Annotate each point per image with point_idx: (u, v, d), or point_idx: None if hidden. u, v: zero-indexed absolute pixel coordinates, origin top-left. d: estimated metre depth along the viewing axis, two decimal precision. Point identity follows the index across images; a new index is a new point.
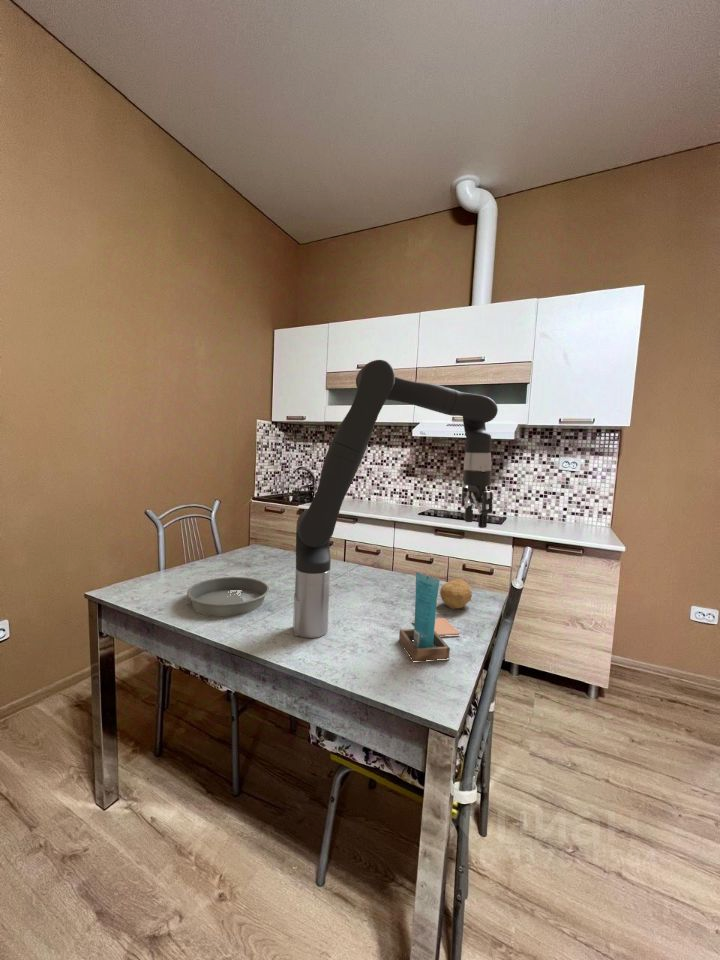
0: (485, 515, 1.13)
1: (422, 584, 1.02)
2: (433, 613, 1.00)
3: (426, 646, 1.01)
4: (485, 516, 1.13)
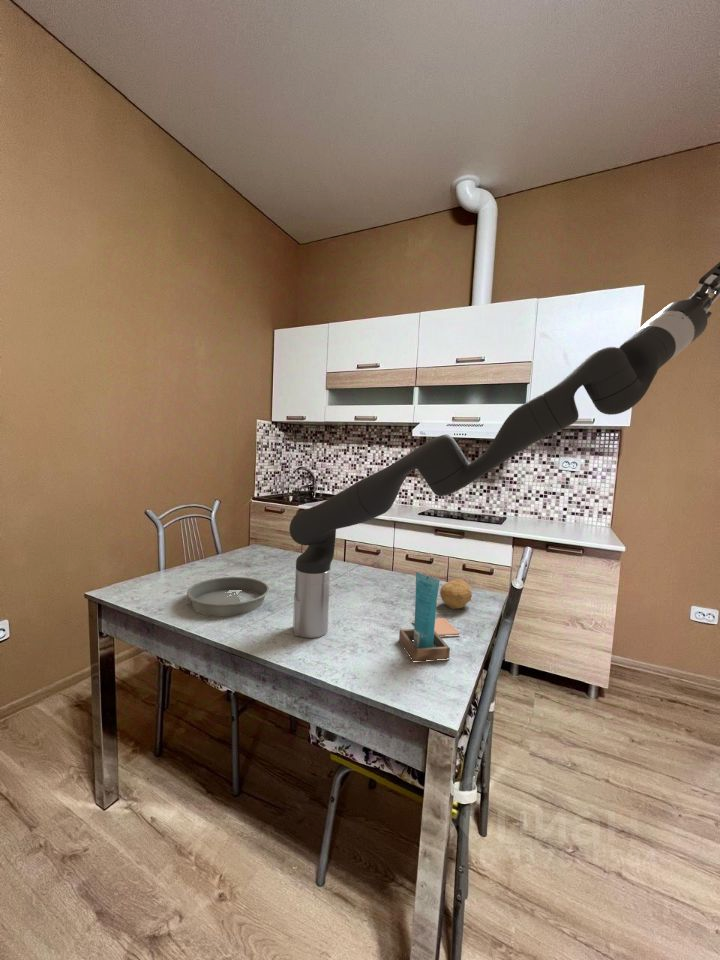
0: None
1: (422, 584, 1.02)
2: (433, 613, 1.00)
3: (426, 646, 1.01)
4: None
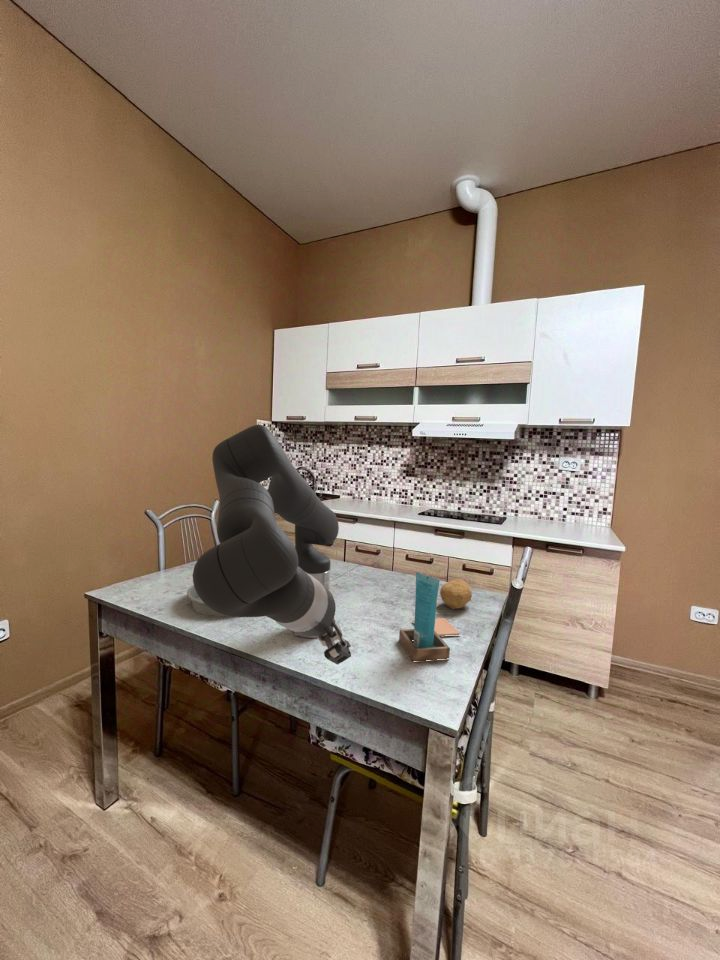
0: None
1: (422, 584, 1.02)
2: (433, 613, 1.00)
3: (426, 646, 1.01)
4: None
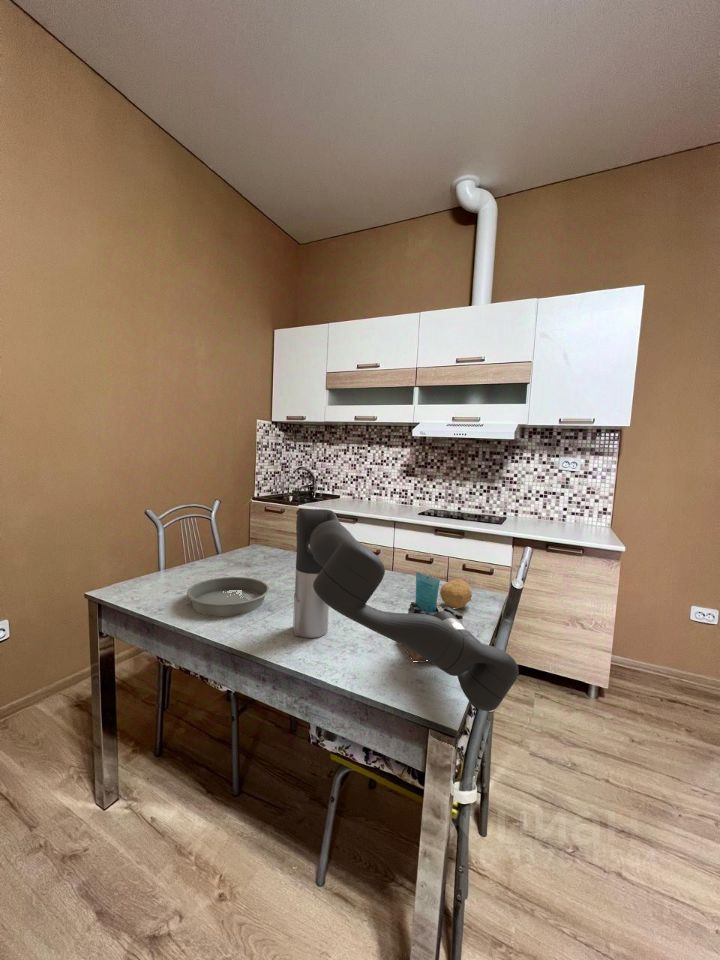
0: None
1: (422, 584, 1.02)
2: None
3: None
4: None
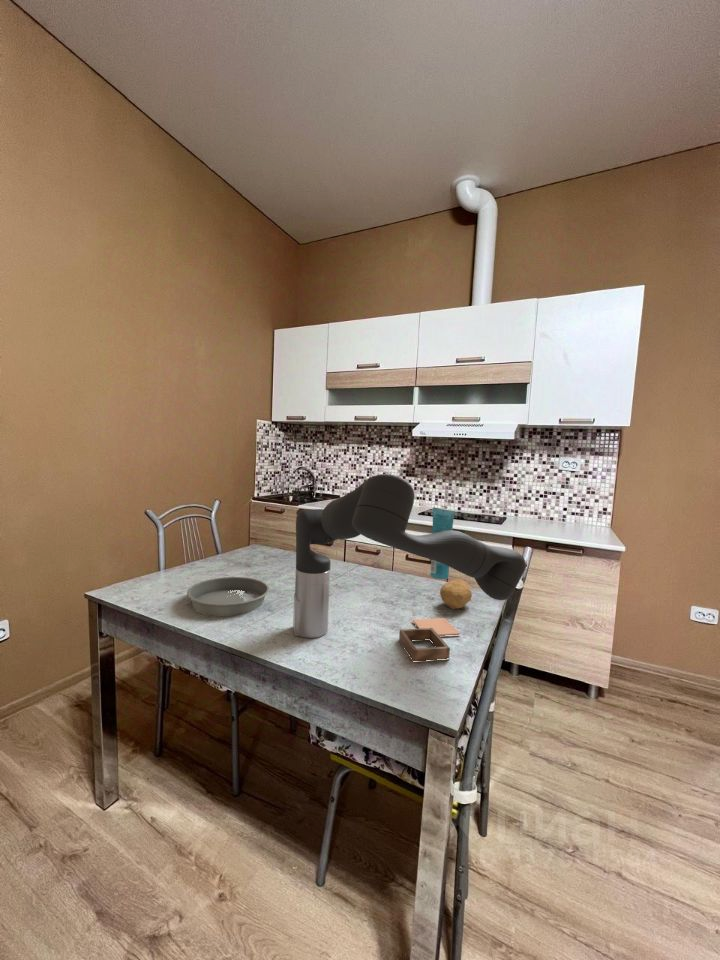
0: None
1: (439, 516, 1.13)
2: None
3: (442, 572, 1.11)
4: None
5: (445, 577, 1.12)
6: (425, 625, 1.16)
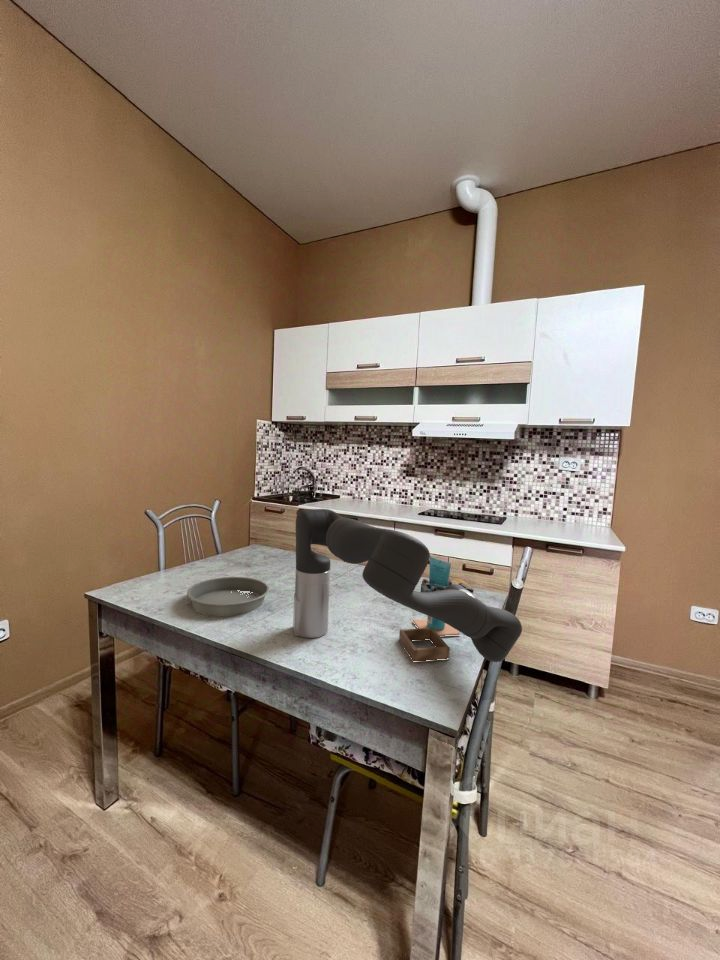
0: None
1: (435, 567, 1.14)
2: None
3: (439, 622, 1.13)
4: None
5: (441, 628, 1.13)
6: (425, 625, 1.16)
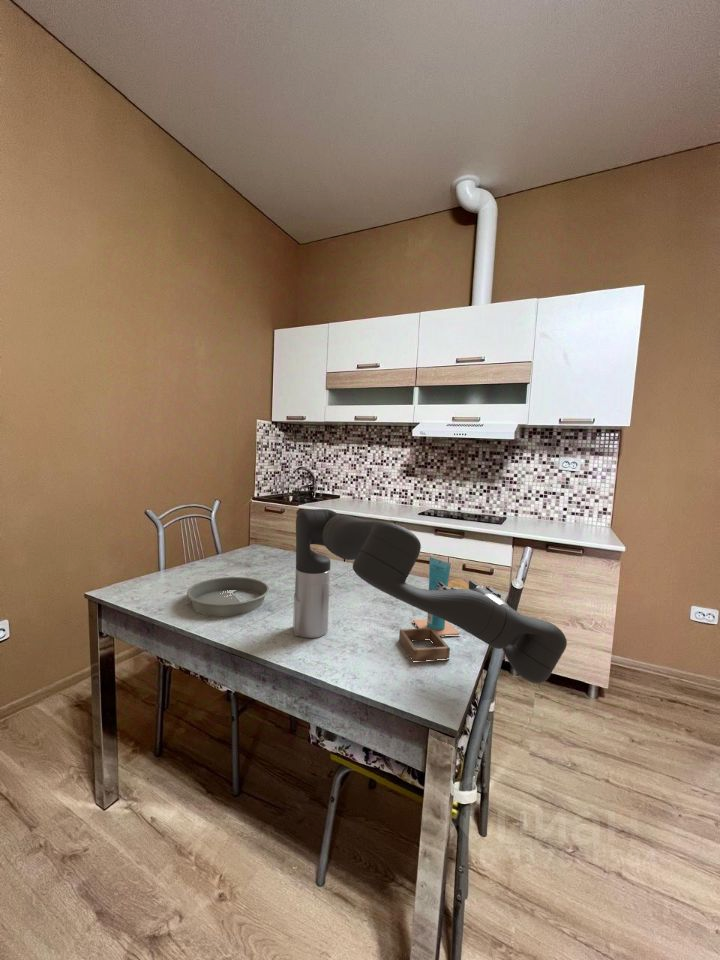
0: None
1: (435, 567, 1.14)
2: None
3: (438, 622, 1.13)
4: None
5: (441, 628, 1.13)
6: (425, 625, 1.16)
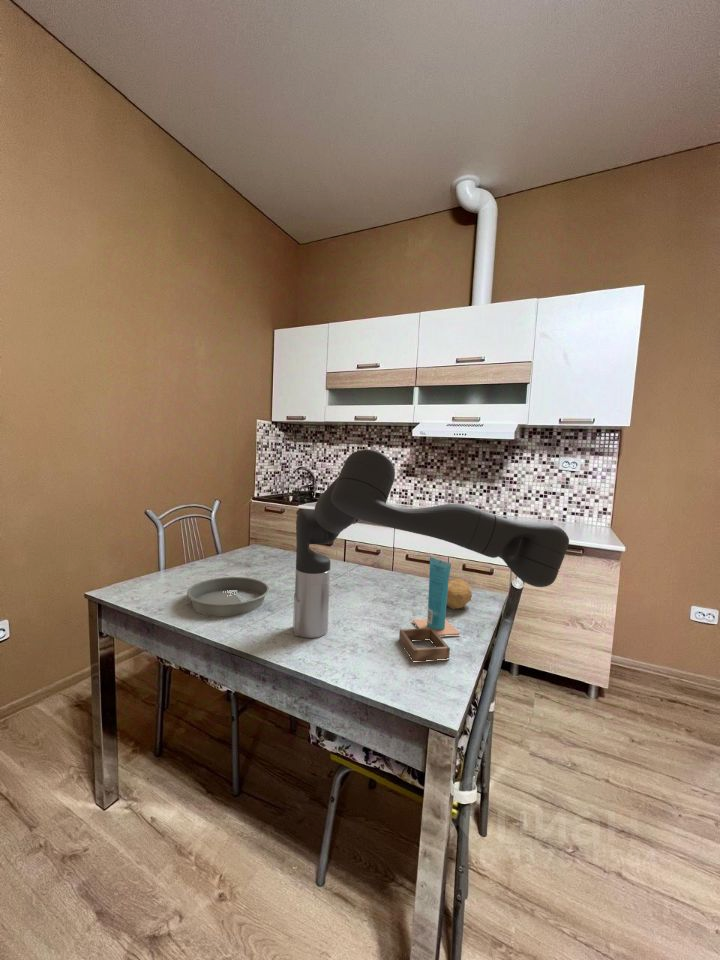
0: None
1: (435, 567, 1.14)
2: (445, 593, 1.12)
3: (439, 622, 1.13)
4: None
5: (441, 628, 1.13)
6: (425, 625, 1.16)
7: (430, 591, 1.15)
